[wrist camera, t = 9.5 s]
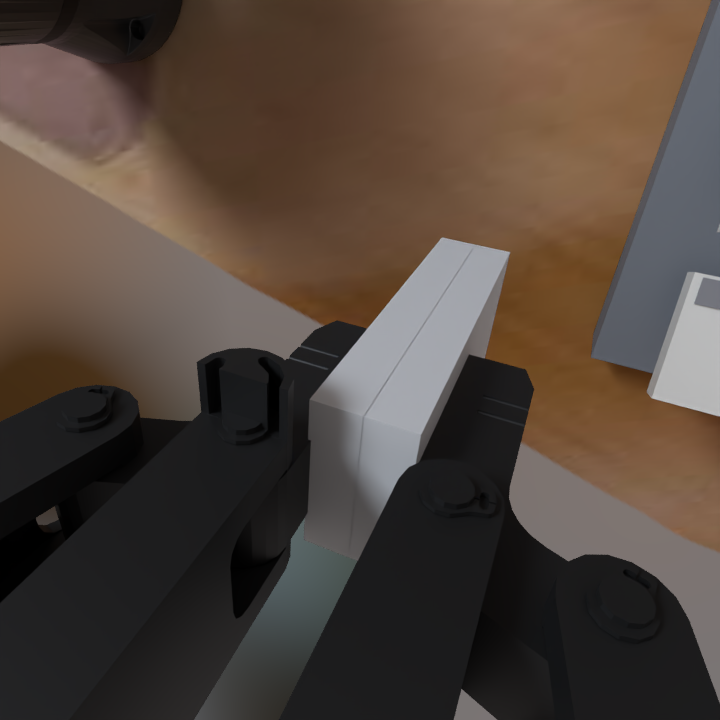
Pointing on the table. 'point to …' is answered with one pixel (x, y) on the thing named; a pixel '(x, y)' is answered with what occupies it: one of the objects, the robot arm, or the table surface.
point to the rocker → (692, 349)
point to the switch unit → (670, 218)
